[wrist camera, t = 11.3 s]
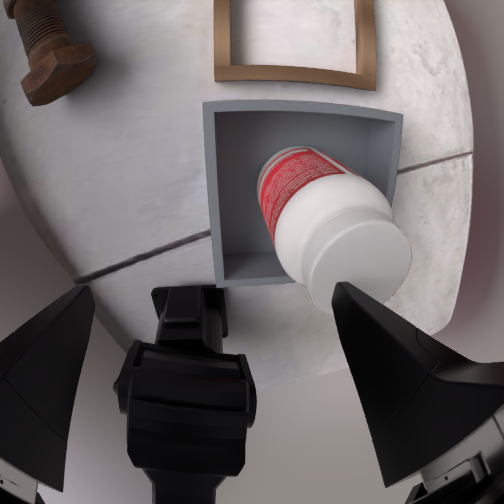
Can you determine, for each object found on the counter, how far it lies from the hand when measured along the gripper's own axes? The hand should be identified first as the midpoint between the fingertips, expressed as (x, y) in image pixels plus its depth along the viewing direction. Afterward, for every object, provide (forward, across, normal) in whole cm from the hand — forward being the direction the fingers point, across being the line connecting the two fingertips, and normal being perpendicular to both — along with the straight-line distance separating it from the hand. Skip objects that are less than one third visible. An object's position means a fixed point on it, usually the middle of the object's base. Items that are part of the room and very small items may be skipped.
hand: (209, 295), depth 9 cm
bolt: (+12, +13, -15) cm, 24 cm away
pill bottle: (+12, -6, 0) cm, 13 cm away
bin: (+12, -6, 0) cm, 14 cm away
